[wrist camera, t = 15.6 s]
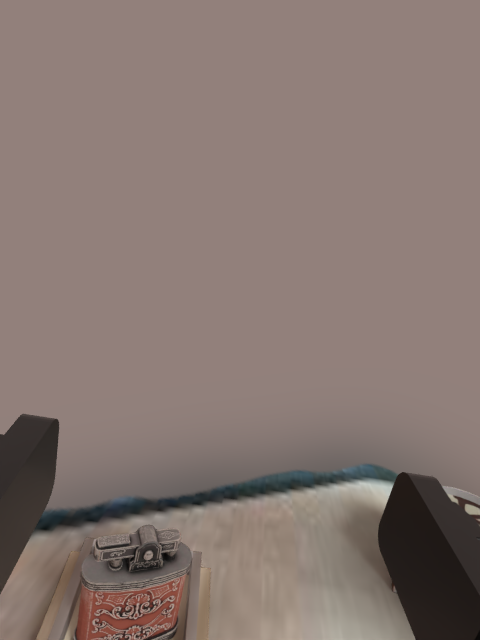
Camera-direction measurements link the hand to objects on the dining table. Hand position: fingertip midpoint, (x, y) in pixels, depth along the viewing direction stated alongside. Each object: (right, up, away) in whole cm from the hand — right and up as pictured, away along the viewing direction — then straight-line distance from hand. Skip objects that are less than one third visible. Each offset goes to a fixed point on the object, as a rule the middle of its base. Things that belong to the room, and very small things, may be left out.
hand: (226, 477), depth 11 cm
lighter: (-9, -21, +25) cm, 34 cm away
